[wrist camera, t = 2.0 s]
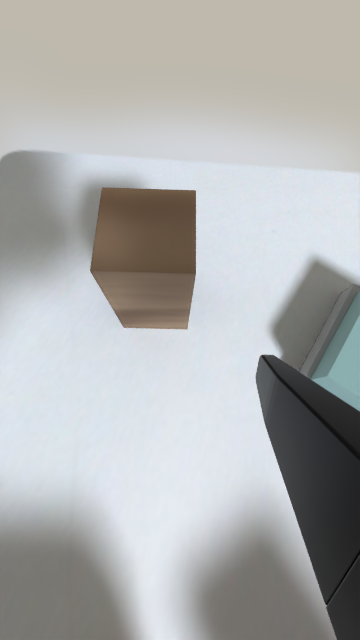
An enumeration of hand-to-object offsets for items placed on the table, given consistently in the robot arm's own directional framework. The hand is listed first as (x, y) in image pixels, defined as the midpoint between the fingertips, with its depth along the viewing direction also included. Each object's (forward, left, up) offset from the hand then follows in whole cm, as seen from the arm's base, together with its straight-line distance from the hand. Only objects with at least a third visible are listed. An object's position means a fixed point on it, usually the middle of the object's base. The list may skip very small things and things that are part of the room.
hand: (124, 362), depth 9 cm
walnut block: (+3, +8, -14) cm, 16 cm away
